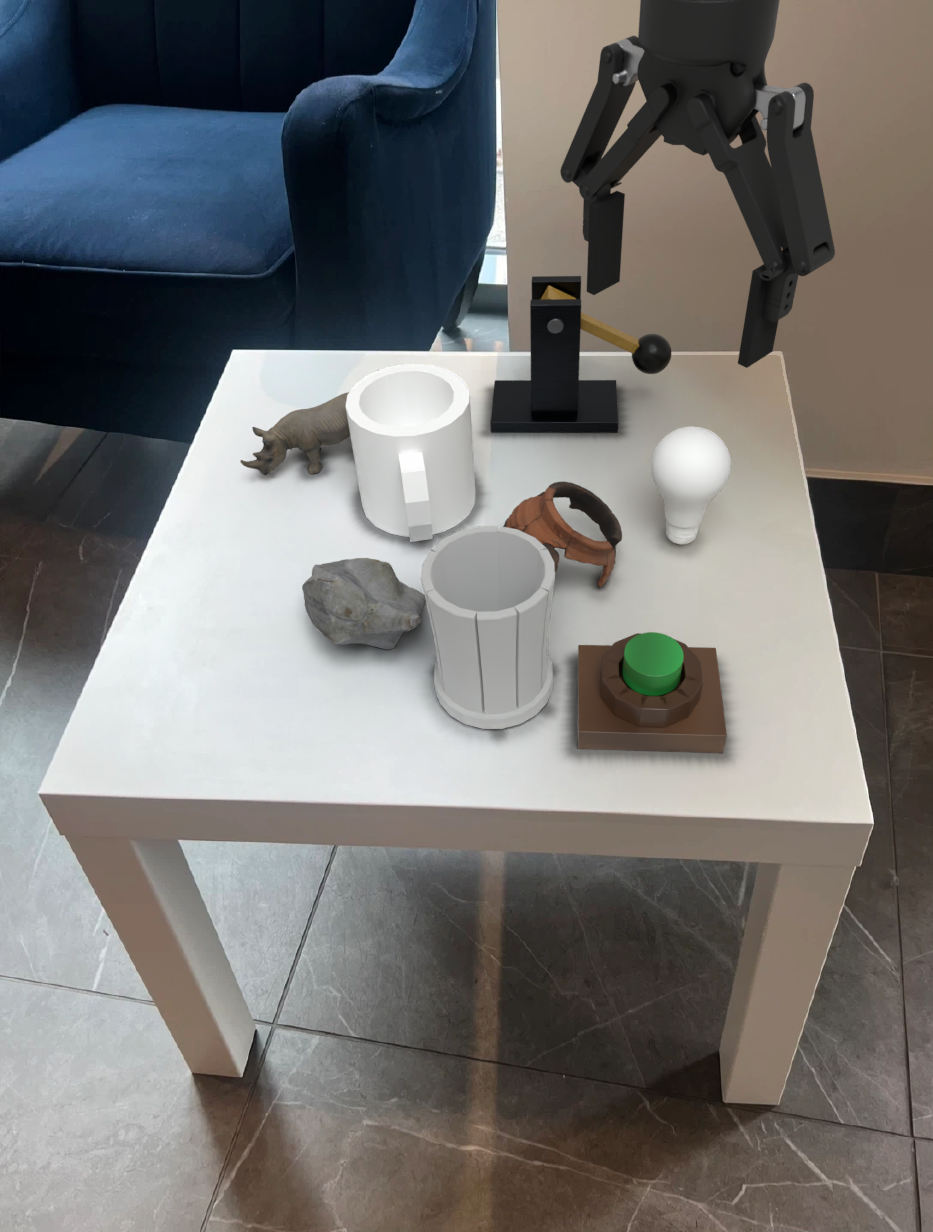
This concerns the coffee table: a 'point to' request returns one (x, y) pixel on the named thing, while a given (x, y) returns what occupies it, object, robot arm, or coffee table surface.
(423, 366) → the mug
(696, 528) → the lightbulb
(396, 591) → the fossil
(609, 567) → the broken clay pot
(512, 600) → the cup
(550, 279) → the switch bracket
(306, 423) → the rhino figurine
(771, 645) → the coffee table surface
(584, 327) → the switch lever
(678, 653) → the light button
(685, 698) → the button block
